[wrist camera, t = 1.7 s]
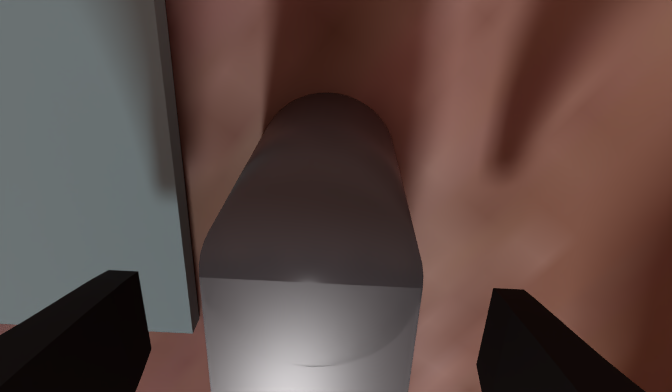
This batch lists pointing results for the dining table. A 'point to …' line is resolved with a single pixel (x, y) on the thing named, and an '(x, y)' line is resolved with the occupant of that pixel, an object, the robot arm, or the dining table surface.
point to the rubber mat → (91, 157)
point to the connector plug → (314, 259)
